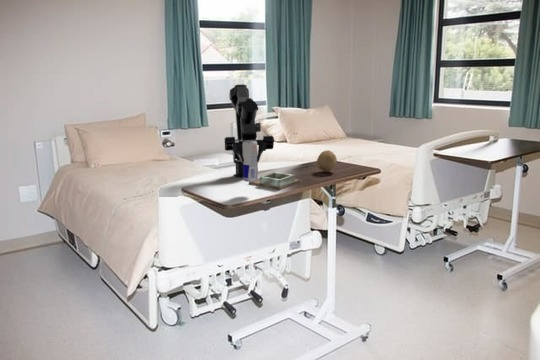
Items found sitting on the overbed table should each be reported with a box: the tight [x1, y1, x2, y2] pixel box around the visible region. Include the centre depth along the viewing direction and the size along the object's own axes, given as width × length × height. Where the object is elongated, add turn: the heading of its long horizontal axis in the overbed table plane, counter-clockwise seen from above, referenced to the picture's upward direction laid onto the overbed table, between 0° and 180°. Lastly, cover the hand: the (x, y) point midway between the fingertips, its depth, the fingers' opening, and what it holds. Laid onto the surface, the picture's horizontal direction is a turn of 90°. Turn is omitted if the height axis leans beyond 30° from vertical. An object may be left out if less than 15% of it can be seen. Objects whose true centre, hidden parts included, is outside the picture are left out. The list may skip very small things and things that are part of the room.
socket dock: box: [248, 171, 300, 190], centre depth 202 cm, size 16×14×4 cm
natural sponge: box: [315, 149, 338, 173], centre depth 219 cm, size 9×9×10 cm
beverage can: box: [242, 141, 259, 183], centre depth 183 cm, size 6×6×15 cm
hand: (250, 161), depth 181 cm, fingers closed on beverage can, 5 cm apart
